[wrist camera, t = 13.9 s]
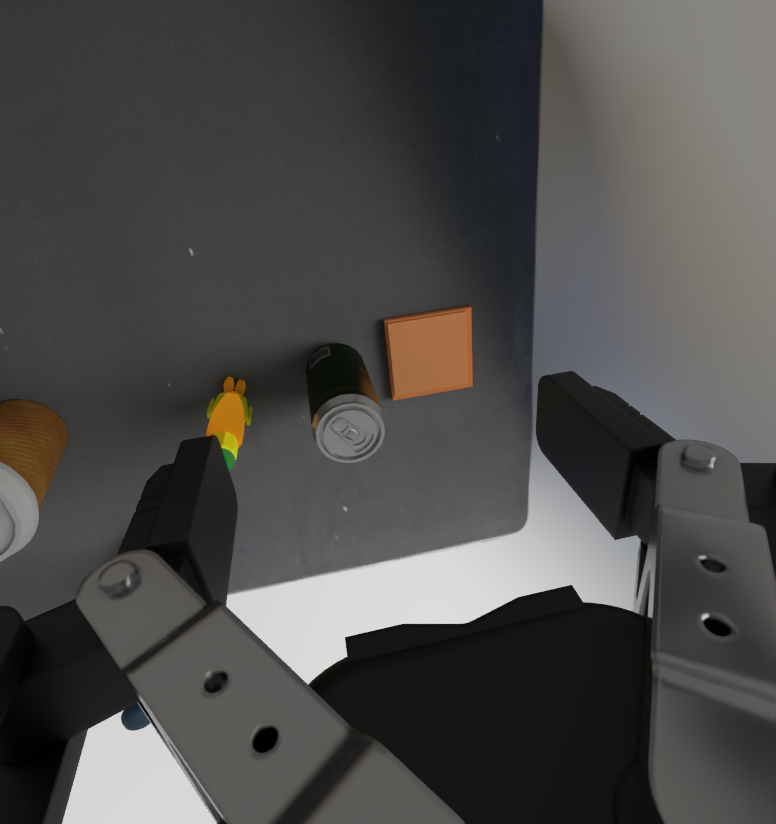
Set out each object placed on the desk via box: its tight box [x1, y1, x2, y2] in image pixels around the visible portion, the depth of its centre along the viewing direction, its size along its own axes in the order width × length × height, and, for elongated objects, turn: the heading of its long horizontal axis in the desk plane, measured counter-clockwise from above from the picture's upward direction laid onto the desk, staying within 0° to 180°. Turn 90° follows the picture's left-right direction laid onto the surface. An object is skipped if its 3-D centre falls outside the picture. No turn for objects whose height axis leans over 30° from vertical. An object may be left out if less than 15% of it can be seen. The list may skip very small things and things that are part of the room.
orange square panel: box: [383, 306, 473, 401], centre depth 46 cm, size 8×8×1 cm
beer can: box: [306, 343, 385, 463], centre depth 40 cm, size 5×5×12 cm
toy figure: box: [206, 376, 252, 472], centre depth 39 cm, size 7×4×12 cm, turn 163°
